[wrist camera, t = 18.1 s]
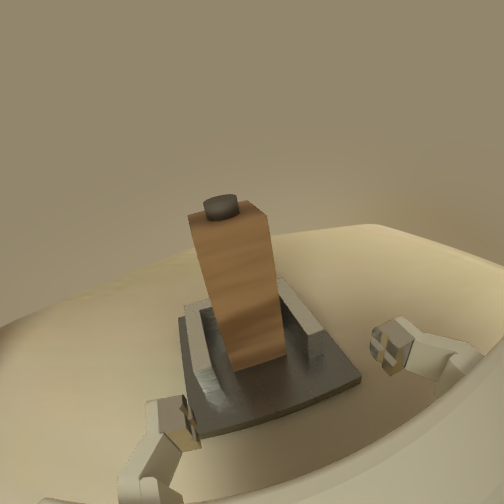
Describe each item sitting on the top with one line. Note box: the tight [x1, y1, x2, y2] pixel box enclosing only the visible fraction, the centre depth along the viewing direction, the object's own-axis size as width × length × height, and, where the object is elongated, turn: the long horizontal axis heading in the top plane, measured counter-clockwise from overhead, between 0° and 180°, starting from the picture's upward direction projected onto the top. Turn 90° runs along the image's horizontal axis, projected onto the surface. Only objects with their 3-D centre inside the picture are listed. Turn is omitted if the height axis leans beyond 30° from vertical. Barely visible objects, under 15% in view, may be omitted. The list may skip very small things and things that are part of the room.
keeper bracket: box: [178, 277, 362, 439], centre depth 24 cm, size 16×14×8 cm
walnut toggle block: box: [188, 194, 287, 372], centre depth 22 cm, size 5×5×14 cm
